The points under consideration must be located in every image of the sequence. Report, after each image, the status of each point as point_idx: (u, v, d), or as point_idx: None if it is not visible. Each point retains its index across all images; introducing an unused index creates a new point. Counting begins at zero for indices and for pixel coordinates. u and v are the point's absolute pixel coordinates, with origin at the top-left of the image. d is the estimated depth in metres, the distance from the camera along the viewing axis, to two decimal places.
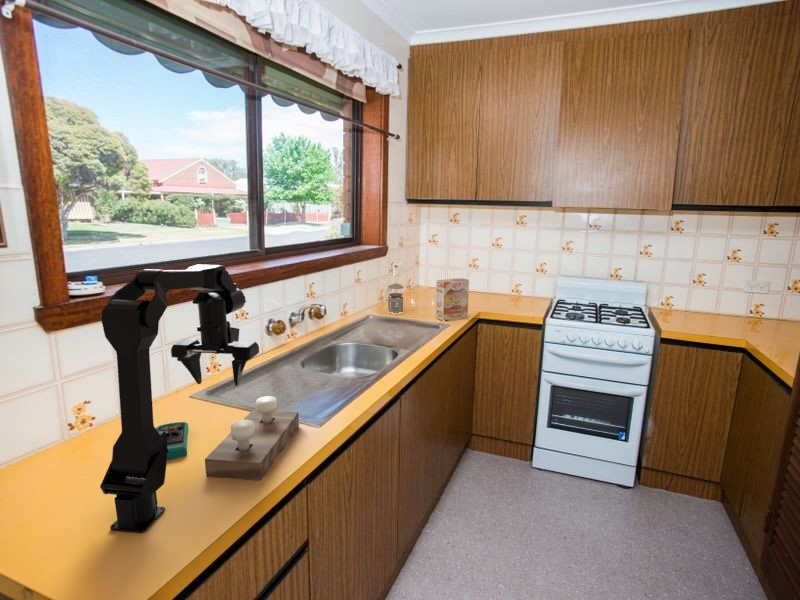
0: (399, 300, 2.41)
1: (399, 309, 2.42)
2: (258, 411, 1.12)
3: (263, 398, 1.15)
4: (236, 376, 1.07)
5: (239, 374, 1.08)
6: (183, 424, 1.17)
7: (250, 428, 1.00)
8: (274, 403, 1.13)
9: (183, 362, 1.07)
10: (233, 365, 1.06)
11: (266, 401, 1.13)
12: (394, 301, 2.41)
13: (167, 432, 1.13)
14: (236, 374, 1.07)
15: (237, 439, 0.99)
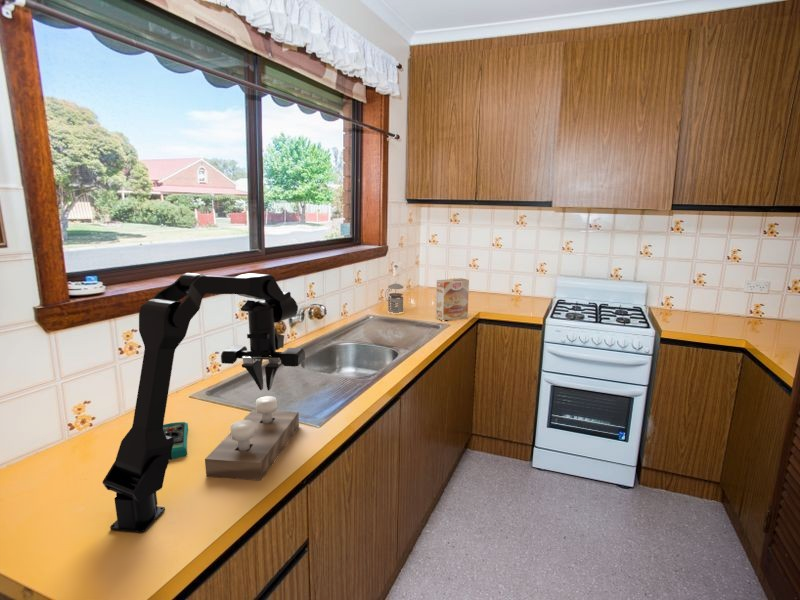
0: (399, 300, 2.41)
1: (399, 309, 2.42)
2: (258, 411, 1.12)
3: (263, 398, 1.15)
4: (269, 381, 1.11)
5: (271, 379, 1.11)
6: (183, 424, 1.17)
7: (250, 428, 1.00)
8: (274, 403, 1.13)
9: (247, 368, 1.10)
10: (266, 370, 1.09)
11: (266, 401, 1.13)
12: (394, 301, 2.41)
13: (167, 432, 1.13)
14: (269, 379, 1.11)
15: (237, 439, 0.99)
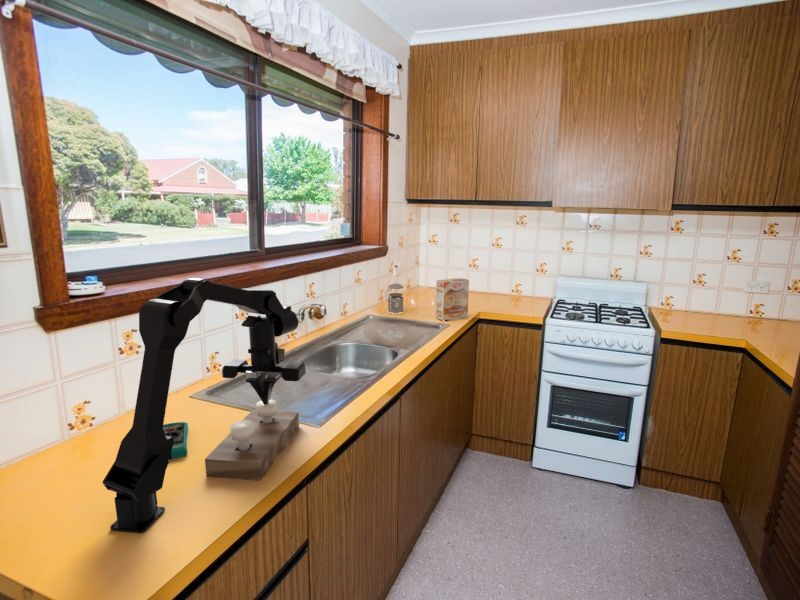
0: (399, 300, 2.41)
1: (399, 309, 2.42)
2: (258, 414, 1.12)
3: None
4: (266, 395, 1.12)
5: (269, 393, 1.12)
6: (183, 424, 1.17)
7: (250, 428, 1.00)
8: (274, 406, 1.13)
9: (251, 383, 1.10)
10: (264, 385, 1.10)
11: (266, 404, 1.13)
12: (394, 301, 2.41)
13: (167, 432, 1.13)
14: (266, 393, 1.11)
15: (237, 439, 0.99)
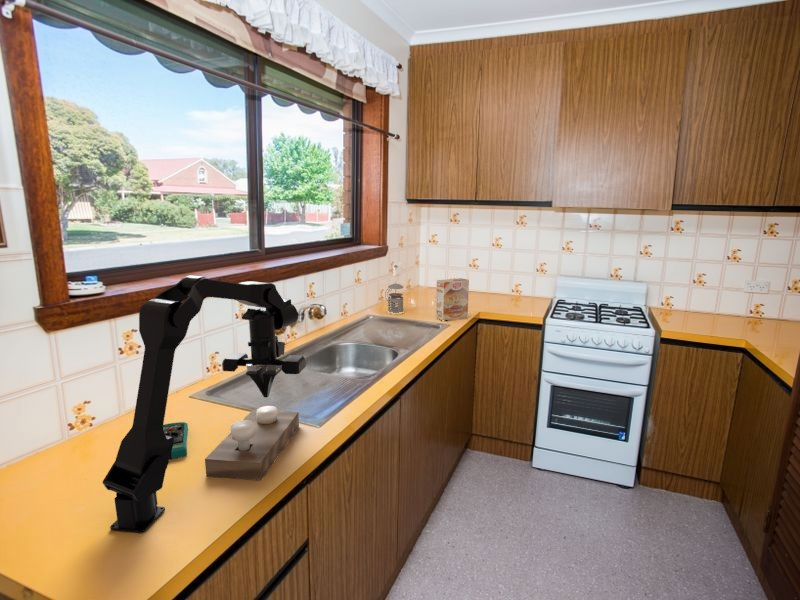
0: (399, 300, 2.41)
1: (399, 309, 2.42)
2: (259, 421, 1.13)
3: (264, 408, 1.15)
4: (266, 388, 1.12)
5: (269, 386, 1.12)
6: (183, 424, 1.17)
7: (250, 428, 1.00)
8: (275, 413, 1.14)
9: (252, 376, 1.10)
10: (264, 378, 1.10)
11: (266, 411, 1.14)
12: (394, 301, 2.41)
13: (167, 432, 1.13)
14: (267, 386, 1.11)
15: (237, 439, 0.99)
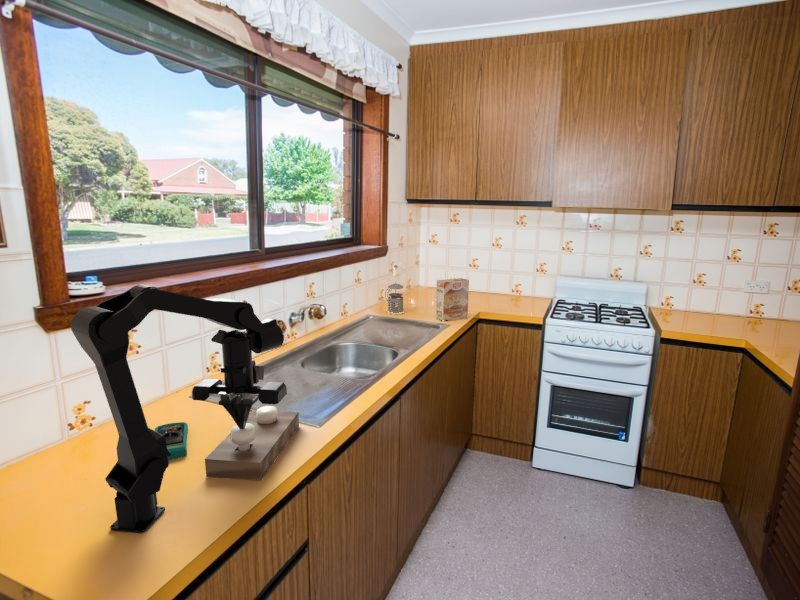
0: (399, 300, 2.41)
1: (399, 309, 2.42)
2: (259, 421, 1.13)
3: (264, 408, 1.15)
4: (242, 419, 0.99)
5: (245, 417, 1.00)
6: (183, 424, 1.17)
7: (250, 432, 1.00)
8: (275, 413, 1.14)
9: (225, 406, 0.98)
10: (239, 408, 0.97)
11: (266, 411, 1.14)
12: (394, 301, 2.41)
13: (167, 432, 1.13)
14: (242, 417, 0.99)
15: (237, 442, 0.99)
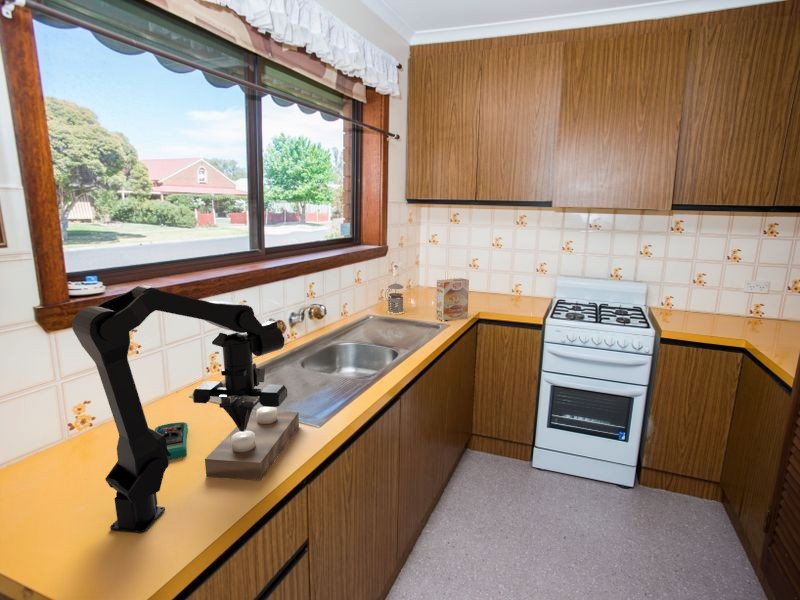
0: (399, 300, 2.41)
1: (399, 309, 2.42)
2: (259, 421, 1.13)
3: (264, 408, 1.15)
4: (243, 422, 0.99)
5: (246, 419, 1.00)
6: (183, 424, 1.17)
7: (251, 439, 1.01)
8: (275, 413, 1.14)
9: (226, 409, 0.98)
10: (240, 411, 0.98)
11: (266, 411, 1.14)
12: (394, 301, 2.41)
13: (166, 432, 1.13)
14: (243, 420, 0.99)
15: (237, 450, 1.00)
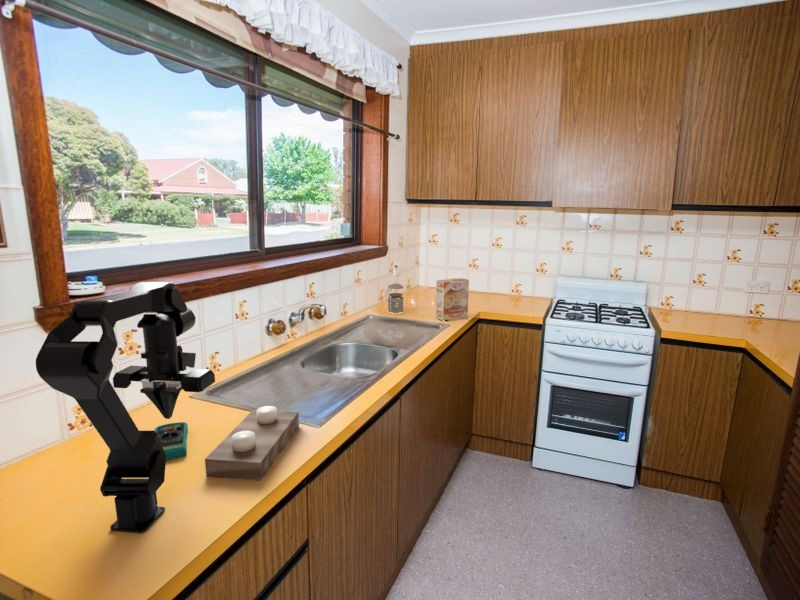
0: (399, 300, 2.41)
1: (399, 309, 2.42)
2: (259, 421, 1.13)
3: (264, 408, 1.15)
4: (166, 408, 0.94)
5: (170, 406, 0.94)
6: (183, 424, 1.17)
7: (251, 439, 1.01)
8: (275, 413, 1.14)
9: (147, 394, 0.92)
10: (162, 396, 0.92)
11: (266, 411, 1.14)
12: (394, 301, 2.41)
13: (166, 432, 1.13)
14: (166, 406, 0.94)
15: (237, 450, 1.00)
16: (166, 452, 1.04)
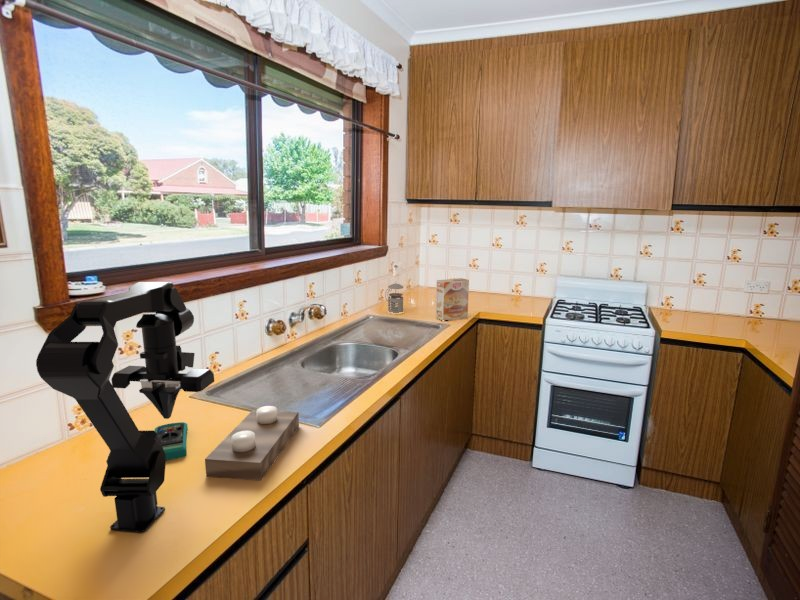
0: (399, 300, 2.41)
1: (399, 309, 2.42)
2: (259, 421, 1.13)
3: (264, 408, 1.15)
4: (166, 408, 0.94)
5: (169, 406, 0.94)
6: (183, 424, 1.17)
7: (251, 439, 1.01)
8: (275, 413, 1.14)
9: (146, 394, 0.92)
10: (161, 396, 0.92)
11: (266, 411, 1.14)
12: (394, 301, 2.41)
13: (166, 432, 1.13)
14: (165, 406, 0.94)
15: (237, 450, 1.00)
16: (166, 452, 1.04)
